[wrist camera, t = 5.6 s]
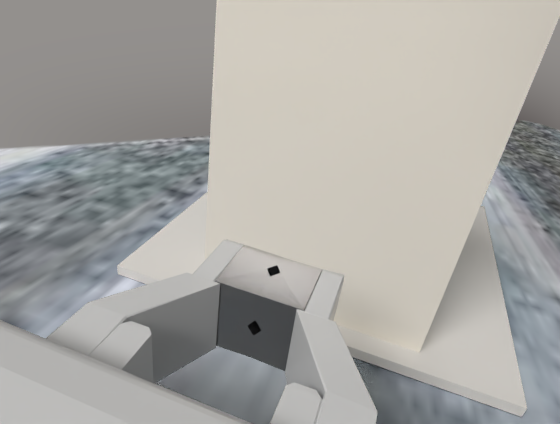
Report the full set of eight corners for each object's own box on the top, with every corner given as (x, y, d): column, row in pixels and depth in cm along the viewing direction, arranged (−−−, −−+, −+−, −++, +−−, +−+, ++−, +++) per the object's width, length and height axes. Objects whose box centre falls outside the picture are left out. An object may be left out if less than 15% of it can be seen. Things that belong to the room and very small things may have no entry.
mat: (481, 212, 31) (484, 206, 31) (521, 416, 16) (527, 408, 15) (257, 155, 35) (258, 150, 35) (117, 274, 20) (117, 265, 20)
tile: (421, 316, 19) (560, -33, 12) (419, 352, 17) (582, -39, 10) (224, 254, 21) (249, -71, 15) (203, 279, 19) (220, -81, 13)
